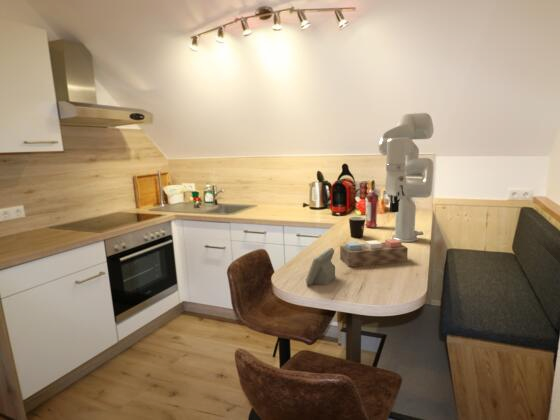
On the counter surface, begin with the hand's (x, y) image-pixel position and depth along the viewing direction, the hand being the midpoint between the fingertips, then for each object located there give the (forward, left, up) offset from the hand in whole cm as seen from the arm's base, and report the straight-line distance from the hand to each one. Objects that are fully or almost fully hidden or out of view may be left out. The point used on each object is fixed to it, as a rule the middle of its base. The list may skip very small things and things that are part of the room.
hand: (394, 211), depth 152 cm
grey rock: (+37, +16, -21) cm, 45 cm away
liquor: (-16, -58, -21) cm, 64 cm away
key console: (+9, 0, -21) cm, 23 cm away
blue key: (+18, 0, -17) cm, 24 cm away
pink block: (0, 0, -17) cm, 17 cm away
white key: (+9, 0, -17) cm, 19 cm away
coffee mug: (-1, -40, -21) cm, 45 cm away
